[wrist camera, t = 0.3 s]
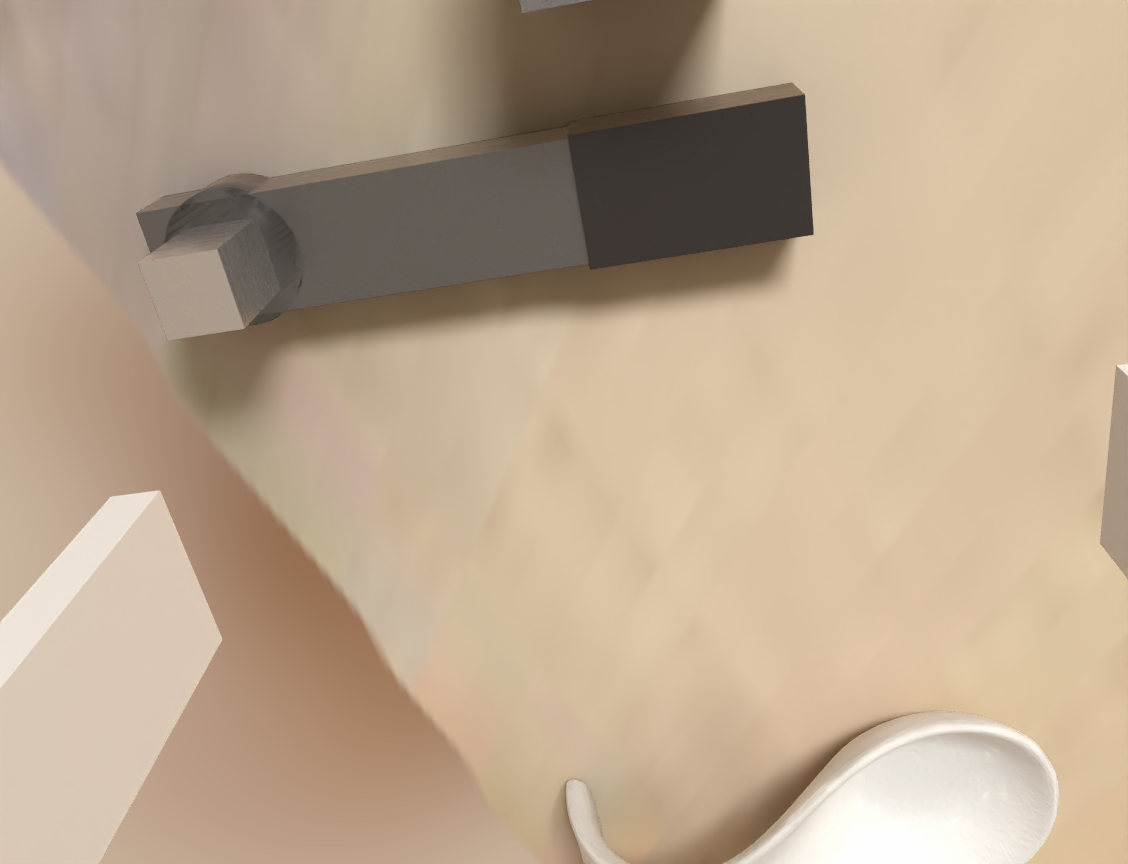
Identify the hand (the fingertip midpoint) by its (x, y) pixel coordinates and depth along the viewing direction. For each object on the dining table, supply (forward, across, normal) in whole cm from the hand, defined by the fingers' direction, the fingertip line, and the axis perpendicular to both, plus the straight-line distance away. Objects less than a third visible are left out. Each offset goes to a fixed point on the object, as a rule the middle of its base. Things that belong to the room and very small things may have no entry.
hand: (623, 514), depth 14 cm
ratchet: (+25, -6, -1) cm, 26 cm away
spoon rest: (+26, +4, -33) cm, 42 cm away
